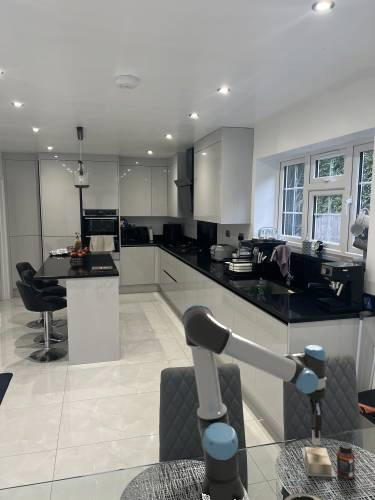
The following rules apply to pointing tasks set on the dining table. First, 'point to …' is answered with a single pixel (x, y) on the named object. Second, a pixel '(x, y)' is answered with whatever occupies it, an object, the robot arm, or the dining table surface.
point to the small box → (318, 460)
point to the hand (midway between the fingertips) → (316, 443)
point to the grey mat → (315, 473)
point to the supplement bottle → (345, 461)
